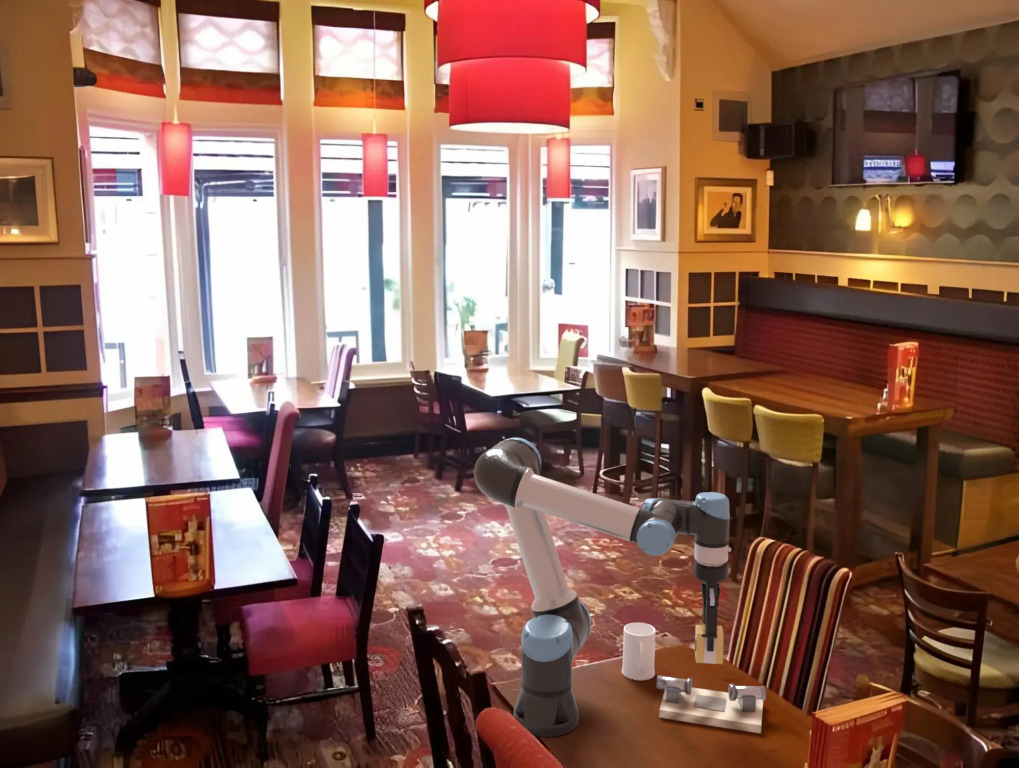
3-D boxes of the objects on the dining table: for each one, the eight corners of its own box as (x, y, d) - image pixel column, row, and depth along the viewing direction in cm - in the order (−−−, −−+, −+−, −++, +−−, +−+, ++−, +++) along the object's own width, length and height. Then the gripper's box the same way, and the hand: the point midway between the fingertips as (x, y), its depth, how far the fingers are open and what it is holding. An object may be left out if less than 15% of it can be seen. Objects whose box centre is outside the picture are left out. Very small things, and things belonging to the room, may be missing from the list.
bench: (659, 717, 216) (659, 708, 215) (666, 691, 228) (666, 683, 228) (760, 733, 209) (761, 724, 209) (762, 705, 221) (763, 697, 221)
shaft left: (655, 700, 220) (656, 679, 219) (658, 690, 224) (659, 669, 223) (689, 705, 217) (690, 684, 216) (691, 695, 222) (692, 674, 221)
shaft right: (731, 711, 215) (732, 690, 214) (727, 700, 220) (728, 679, 219) (766, 712, 214) (767, 690, 213) (761, 701, 219) (762, 680, 218)
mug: (655, 688, 230) (657, 642, 228) (621, 685, 231) (622, 640, 229) (654, 666, 241) (655, 623, 239) (621, 664, 242) (622, 621, 240)
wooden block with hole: (695, 662, 211) (696, 633, 210) (694, 652, 216) (694, 624, 215) (723, 664, 210) (724, 635, 209) (721, 654, 215) (722, 626, 214)
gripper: (731, 576, 200) (728, 676, 204) (725, 548, 218) (722, 641, 221) (696, 574, 201) (693, 674, 205) (692, 546, 219) (690, 639, 223)
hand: (708, 656), depth 213 cm, fingers closed on wooden block with hole, 5 cm apart
